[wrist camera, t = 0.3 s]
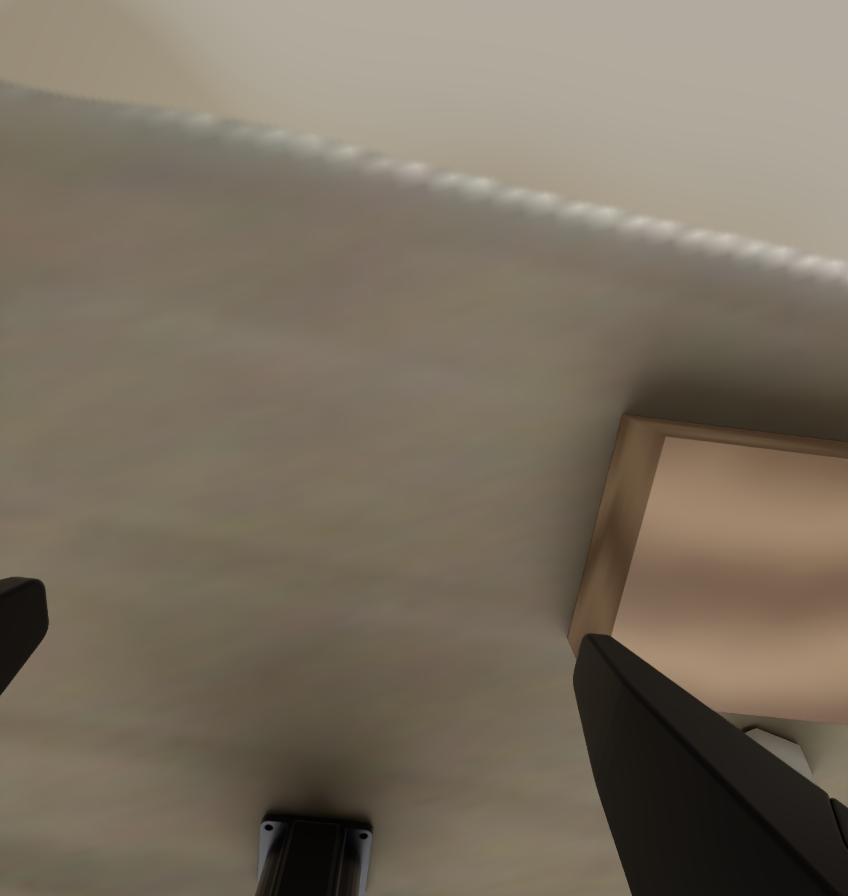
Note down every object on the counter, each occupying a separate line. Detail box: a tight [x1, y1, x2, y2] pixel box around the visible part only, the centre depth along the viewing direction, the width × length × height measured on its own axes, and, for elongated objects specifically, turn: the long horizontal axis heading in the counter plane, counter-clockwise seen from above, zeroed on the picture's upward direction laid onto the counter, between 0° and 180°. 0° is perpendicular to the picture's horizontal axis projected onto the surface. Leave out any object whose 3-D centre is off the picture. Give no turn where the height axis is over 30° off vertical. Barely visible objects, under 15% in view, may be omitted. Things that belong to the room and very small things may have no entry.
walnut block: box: [568, 414, 848, 725], centre depth 22 cm, size 12×12×4 cm
